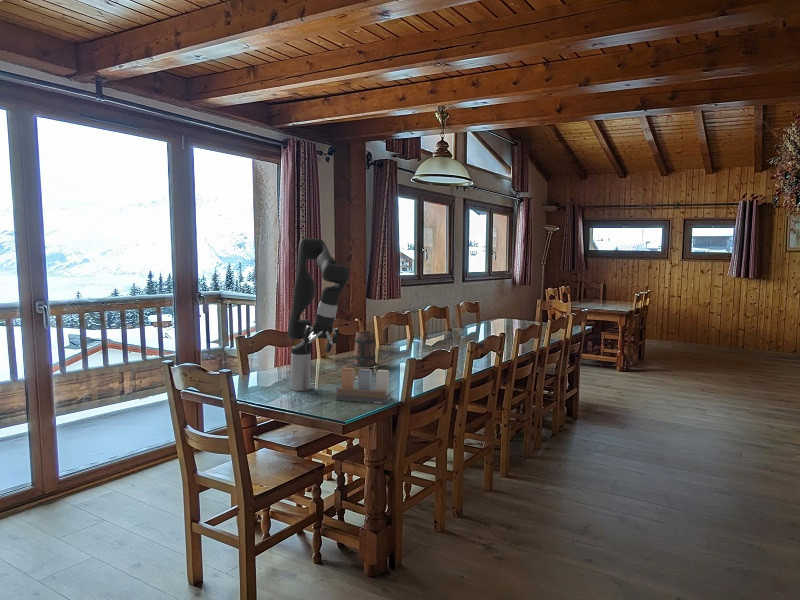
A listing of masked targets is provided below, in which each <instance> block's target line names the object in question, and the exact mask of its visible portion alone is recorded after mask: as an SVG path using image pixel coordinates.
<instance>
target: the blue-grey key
mask: <svg viewBox="0 0 800 600" xmlns="http://www.w3.org/2000/svg"><path fill="white" fill-rule="evenodd" d="M358 370H359V371H358V389H363V390H372V385H373V384H372V380H373V378H372V376H373V375H372V374H373V370H372V369H358Z"/></svg>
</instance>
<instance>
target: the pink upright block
mask: <svg viewBox="0 0 800 600" xmlns="http://www.w3.org/2000/svg"><path fill="white" fill-rule="evenodd" d="M355 371H356V368H352V367H343V368H342V370H341V384H340V385H341V387H340V388H349V389H355V385H356V384H355V381H356V380H355V378H356V377H355V374H356V372H355Z"/></svg>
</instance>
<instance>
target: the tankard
mask: <svg viewBox="0 0 800 600" xmlns="http://www.w3.org/2000/svg"><path fill="white" fill-rule="evenodd" d="M376 358H377V356H376V338H375V332H374V331H356V332H355V338H354V354H353V361H352V362H351V364H350V365H352V366H355V367H373V366H377V365H378V362H376Z"/></svg>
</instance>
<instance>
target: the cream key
mask: <svg viewBox="0 0 800 600" xmlns="http://www.w3.org/2000/svg"><path fill="white" fill-rule="evenodd" d="M389 383H390V371H389V370H388V369H378V370H376V372H375V390H377V391H386V396H387V395H388V393H390V391H389V390H390V389H389V388H390V385H389Z"/></svg>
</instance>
